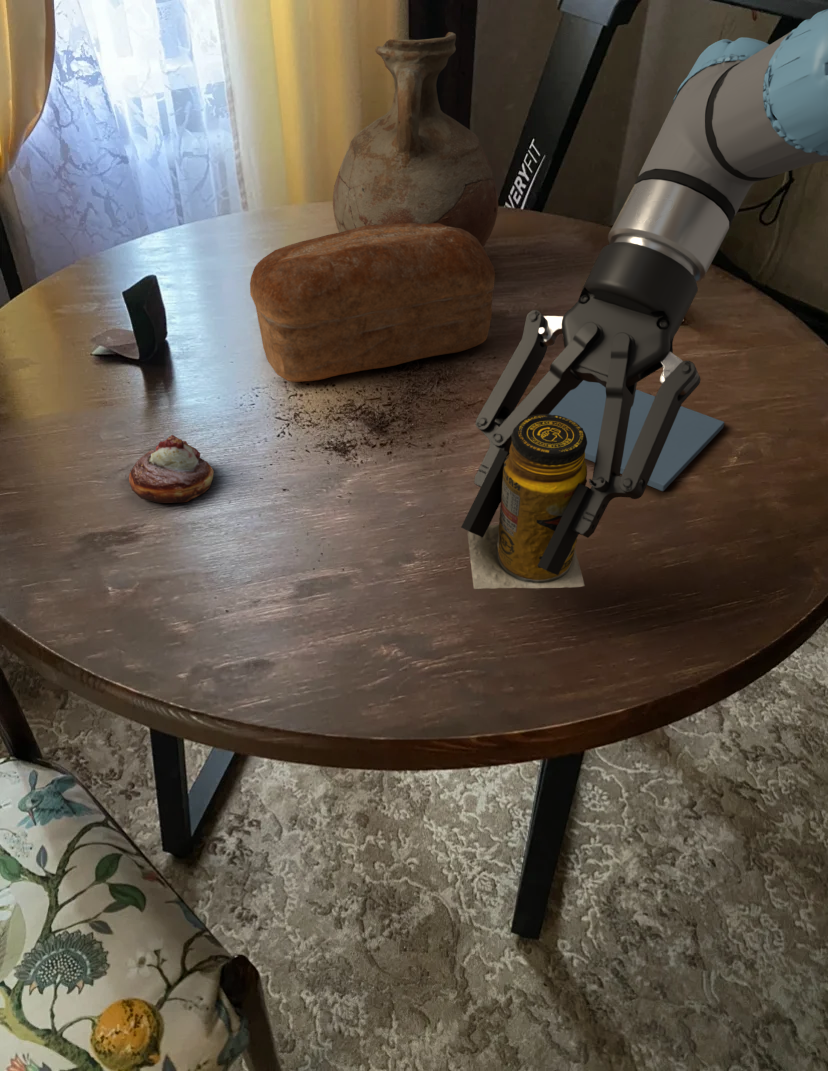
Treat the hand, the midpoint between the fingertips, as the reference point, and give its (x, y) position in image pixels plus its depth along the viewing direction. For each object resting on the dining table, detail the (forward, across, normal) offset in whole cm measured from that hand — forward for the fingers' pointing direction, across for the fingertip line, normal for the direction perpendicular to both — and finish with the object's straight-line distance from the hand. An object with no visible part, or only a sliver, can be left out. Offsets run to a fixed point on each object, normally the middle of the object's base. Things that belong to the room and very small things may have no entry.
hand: (509, 550), depth 62 cm
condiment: (0, +1, -5) cm, 5 cm away
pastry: (+9, +36, -3) cm, 38 cm away
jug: (-27, +47, -39) cm, 67 cm away
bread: (-14, +38, -26) cm, 48 cm away
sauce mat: (-16, +6, -29) cm, 33 cm away
